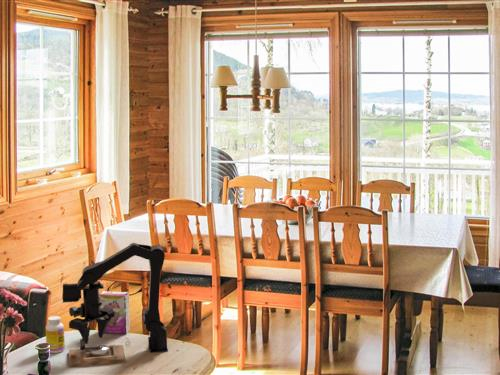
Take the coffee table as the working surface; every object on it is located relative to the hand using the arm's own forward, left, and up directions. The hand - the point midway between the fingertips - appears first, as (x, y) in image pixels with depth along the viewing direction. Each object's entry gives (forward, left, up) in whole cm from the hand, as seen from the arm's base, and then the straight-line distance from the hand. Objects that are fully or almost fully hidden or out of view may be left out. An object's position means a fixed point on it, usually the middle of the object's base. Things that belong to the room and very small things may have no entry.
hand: (93, 340), depth 288 cm
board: (-1, +3, -5) cm, 6 cm away
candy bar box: (-9, -24, -6) cm, 26 cm away
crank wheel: (0, +4, -4) cm, 6 cm away
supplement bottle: (+14, -8, -6) cm, 17 cm away
